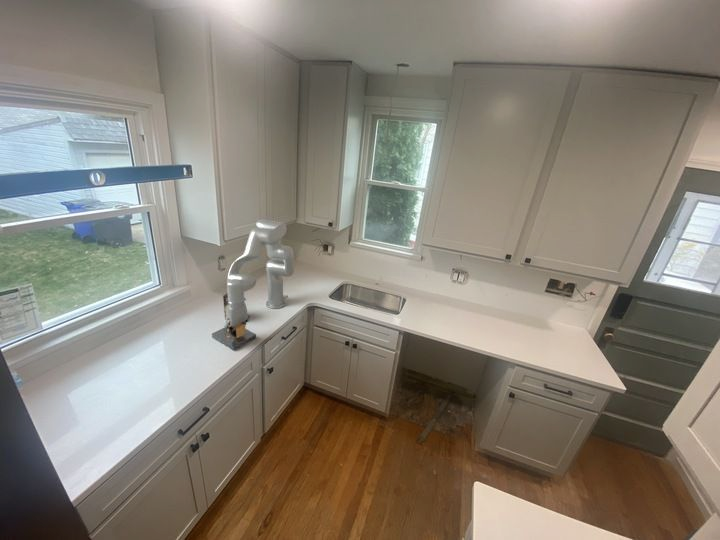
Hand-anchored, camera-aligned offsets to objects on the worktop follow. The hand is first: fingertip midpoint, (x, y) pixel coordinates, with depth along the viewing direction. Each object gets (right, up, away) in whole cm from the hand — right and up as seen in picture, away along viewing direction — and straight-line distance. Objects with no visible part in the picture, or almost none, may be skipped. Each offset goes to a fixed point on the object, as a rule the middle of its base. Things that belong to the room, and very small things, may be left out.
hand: (238, 333), depth 154 cm
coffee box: (-11, +4, +21) cm, 24 cm away
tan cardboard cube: (0, 0, 0) cm, 0 cm away
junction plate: (-4, -3, +4) cm, 6 cm away
